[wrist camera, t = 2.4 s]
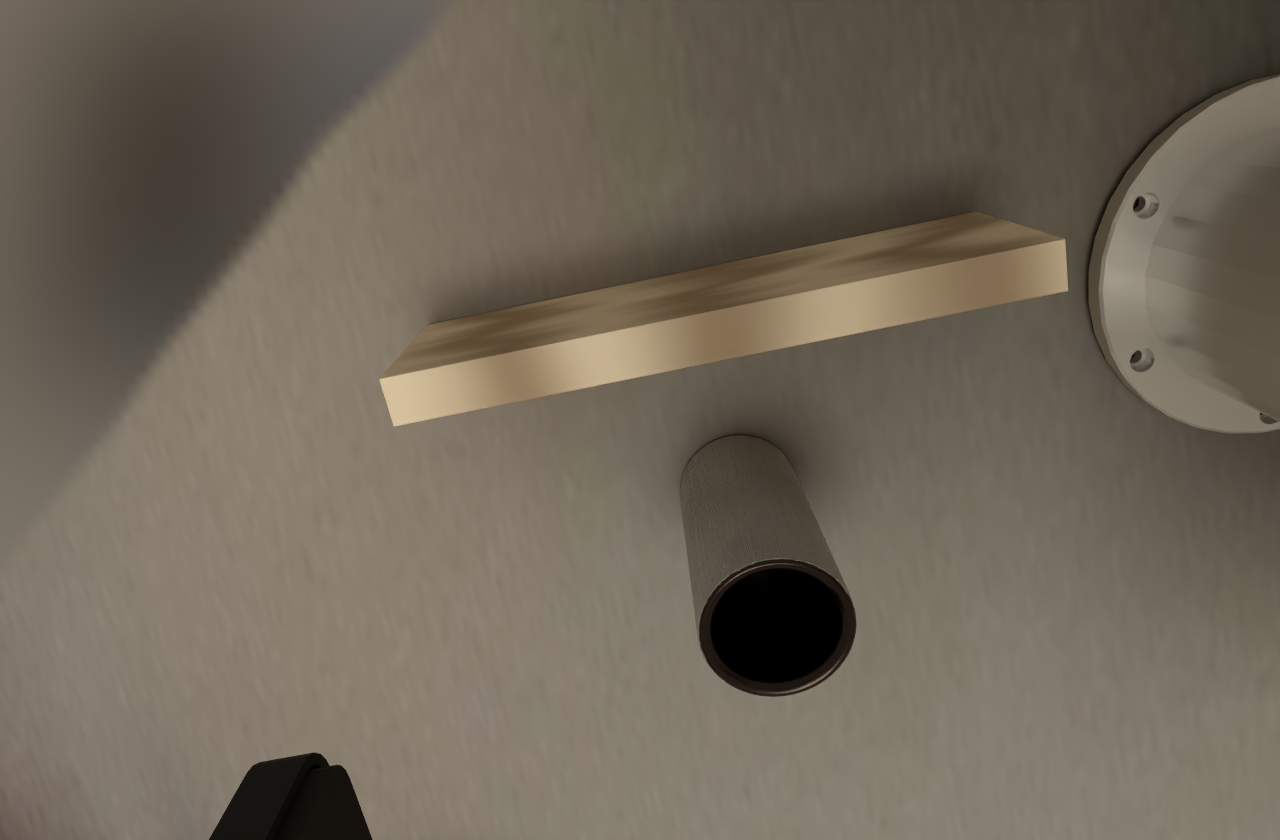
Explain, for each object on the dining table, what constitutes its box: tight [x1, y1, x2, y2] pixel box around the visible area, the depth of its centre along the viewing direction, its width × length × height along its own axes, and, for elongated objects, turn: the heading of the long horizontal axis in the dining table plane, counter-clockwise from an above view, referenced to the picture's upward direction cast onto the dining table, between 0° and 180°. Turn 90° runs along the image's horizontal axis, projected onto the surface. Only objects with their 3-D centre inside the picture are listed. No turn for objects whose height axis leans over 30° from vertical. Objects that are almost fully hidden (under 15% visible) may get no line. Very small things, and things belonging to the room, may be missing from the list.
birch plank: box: [379, 211, 1068, 426], centre depth 30 cm, size 20×2×7 cm, turn 102°
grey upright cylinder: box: [680, 435, 856, 697], centre depth 31 cm, size 4×4×10 cm
